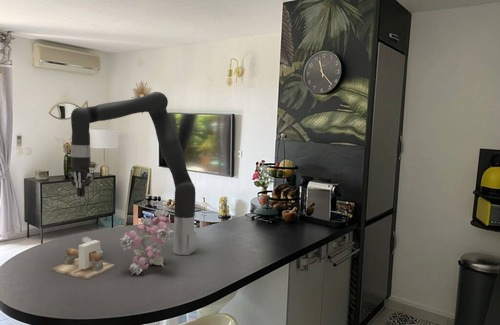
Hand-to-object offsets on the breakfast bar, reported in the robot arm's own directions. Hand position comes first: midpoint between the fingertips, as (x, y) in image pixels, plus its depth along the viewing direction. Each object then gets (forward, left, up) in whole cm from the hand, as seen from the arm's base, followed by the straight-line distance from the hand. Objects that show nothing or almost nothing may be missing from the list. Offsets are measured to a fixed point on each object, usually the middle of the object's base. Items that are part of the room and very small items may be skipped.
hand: (80, 196), depth 154 cm
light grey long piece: (+3, -8, -28) cm, 29 cm away
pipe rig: (-10, +8, -27) cm, 30 cm away
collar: (-13, +8, -25) cm, 29 cm away
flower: (-32, -3, -27) cm, 42 cm away
